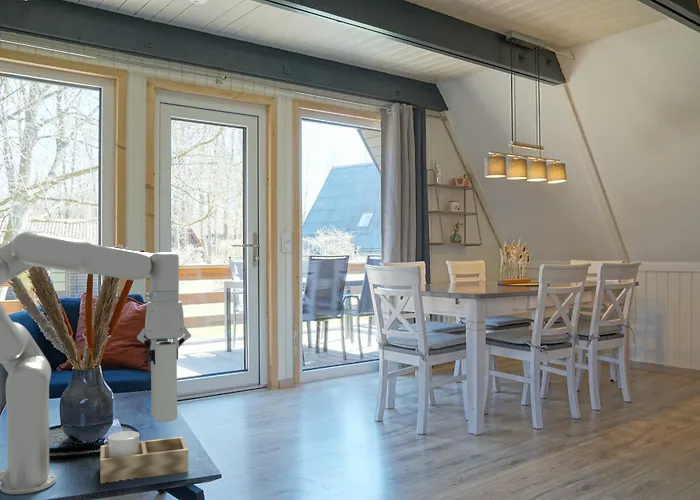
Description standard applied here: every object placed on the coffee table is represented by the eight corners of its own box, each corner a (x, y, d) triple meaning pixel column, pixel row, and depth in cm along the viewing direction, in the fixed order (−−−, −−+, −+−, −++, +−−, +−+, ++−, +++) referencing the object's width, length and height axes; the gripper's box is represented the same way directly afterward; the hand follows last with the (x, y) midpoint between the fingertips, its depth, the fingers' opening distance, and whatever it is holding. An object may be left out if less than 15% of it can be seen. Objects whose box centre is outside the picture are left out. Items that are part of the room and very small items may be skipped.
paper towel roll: (179, 420, 166) (179, 343, 165) (157, 424, 163) (156, 345, 162) (173, 413, 172) (172, 339, 171) (151, 417, 169) (150, 341, 168)
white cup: (129, 464, 169) (129, 429, 169) (144, 471, 164) (145, 434, 164) (102, 472, 163) (102, 435, 163) (117, 480, 158) (117, 442, 158)
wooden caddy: (100, 483, 155) (100, 460, 155) (100, 467, 167) (100, 445, 167) (188, 471, 164) (188, 449, 164) (182, 457, 175) (182, 436, 175)
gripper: (132, 299, 160) (132, 367, 160) (197, 297, 166) (197, 363, 167) (131, 296, 167) (131, 362, 167) (194, 295, 173) (193, 358, 174)
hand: (164, 362), depth 167 cm, fingers closed on paper towel roll, 4 cm apart
